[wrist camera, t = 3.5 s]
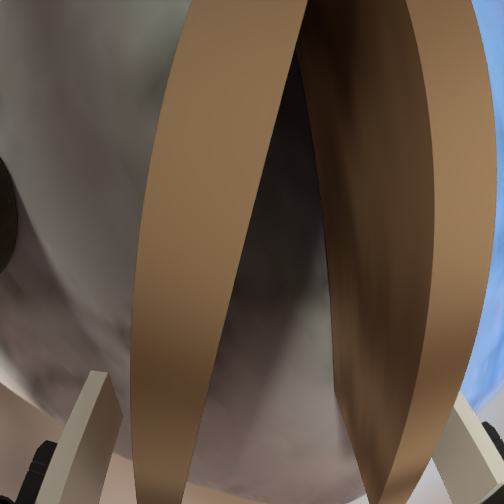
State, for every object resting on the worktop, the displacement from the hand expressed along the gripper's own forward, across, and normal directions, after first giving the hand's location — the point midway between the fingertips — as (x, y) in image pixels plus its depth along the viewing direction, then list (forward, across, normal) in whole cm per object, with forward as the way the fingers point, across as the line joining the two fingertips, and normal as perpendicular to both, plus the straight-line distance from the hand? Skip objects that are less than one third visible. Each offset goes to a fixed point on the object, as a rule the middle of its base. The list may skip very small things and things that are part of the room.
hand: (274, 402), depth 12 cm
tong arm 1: (+3, -3, +6) cm, 7 cm away
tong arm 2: (+3, +3, +6) cm, 7 cm away
